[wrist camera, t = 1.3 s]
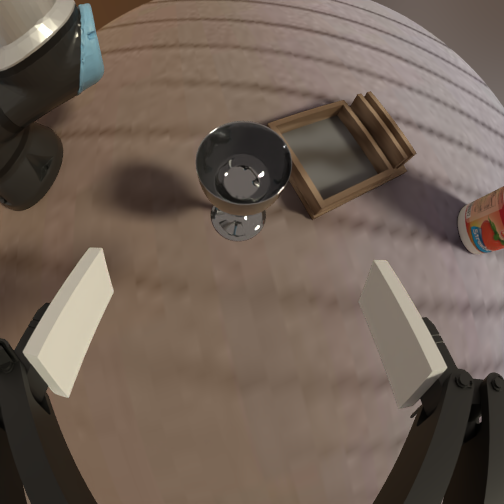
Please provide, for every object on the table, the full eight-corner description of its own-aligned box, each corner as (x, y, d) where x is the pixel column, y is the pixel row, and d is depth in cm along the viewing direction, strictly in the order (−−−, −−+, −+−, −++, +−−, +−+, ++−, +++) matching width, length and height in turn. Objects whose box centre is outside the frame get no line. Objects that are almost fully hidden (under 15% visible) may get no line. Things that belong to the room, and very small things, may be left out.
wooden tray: (262, 138, 39) (267, 114, 34) (357, 107, 42) (370, 86, 36) (312, 219, 38) (326, 205, 32) (403, 173, 41) (423, 157, 35)
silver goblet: (222, 254, 36) (217, 220, 21) (198, 200, 37) (182, 139, 22) (279, 229, 37) (309, 183, 22) (253, 178, 38) (266, 110, 23)
